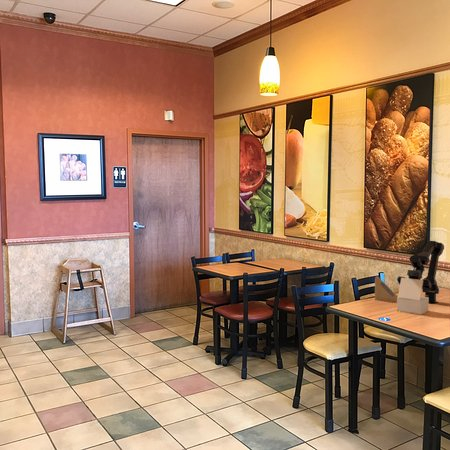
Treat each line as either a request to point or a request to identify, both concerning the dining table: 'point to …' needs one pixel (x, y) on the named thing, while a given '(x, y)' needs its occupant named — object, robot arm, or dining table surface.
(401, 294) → the carton flap
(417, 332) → the dining table surface
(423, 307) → the carton
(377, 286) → the sandwich container
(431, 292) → the robot arm
